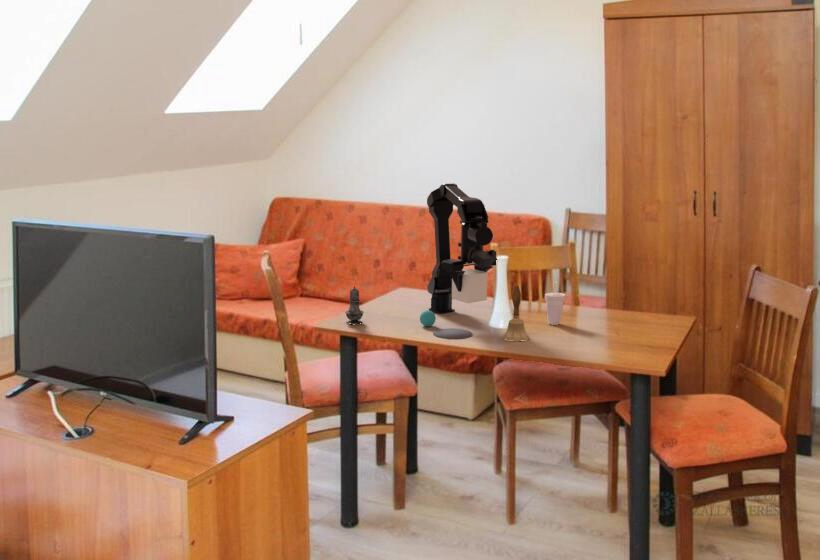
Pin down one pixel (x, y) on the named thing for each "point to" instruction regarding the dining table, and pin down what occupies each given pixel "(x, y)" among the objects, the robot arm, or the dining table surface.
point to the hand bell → (516, 320)
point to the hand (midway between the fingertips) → (469, 289)
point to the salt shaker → (354, 308)
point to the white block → (471, 287)
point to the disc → (452, 333)
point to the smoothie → (554, 306)
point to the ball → (427, 318)
